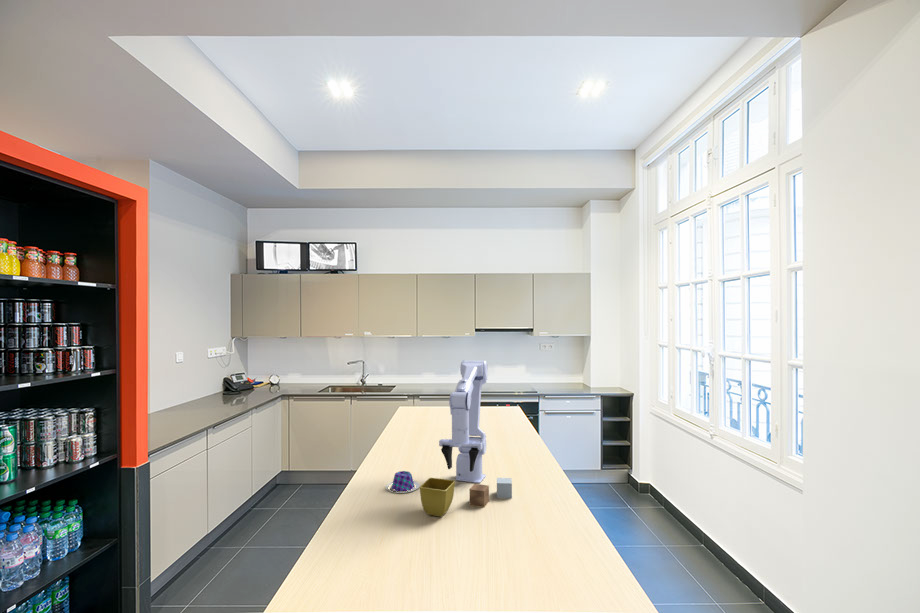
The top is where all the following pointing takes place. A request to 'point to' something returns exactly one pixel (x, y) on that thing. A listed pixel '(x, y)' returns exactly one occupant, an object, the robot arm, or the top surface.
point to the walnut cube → (479, 495)
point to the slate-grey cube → (504, 488)
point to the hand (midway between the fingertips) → (460, 469)
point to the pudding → (403, 482)
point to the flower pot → (437, 496)
